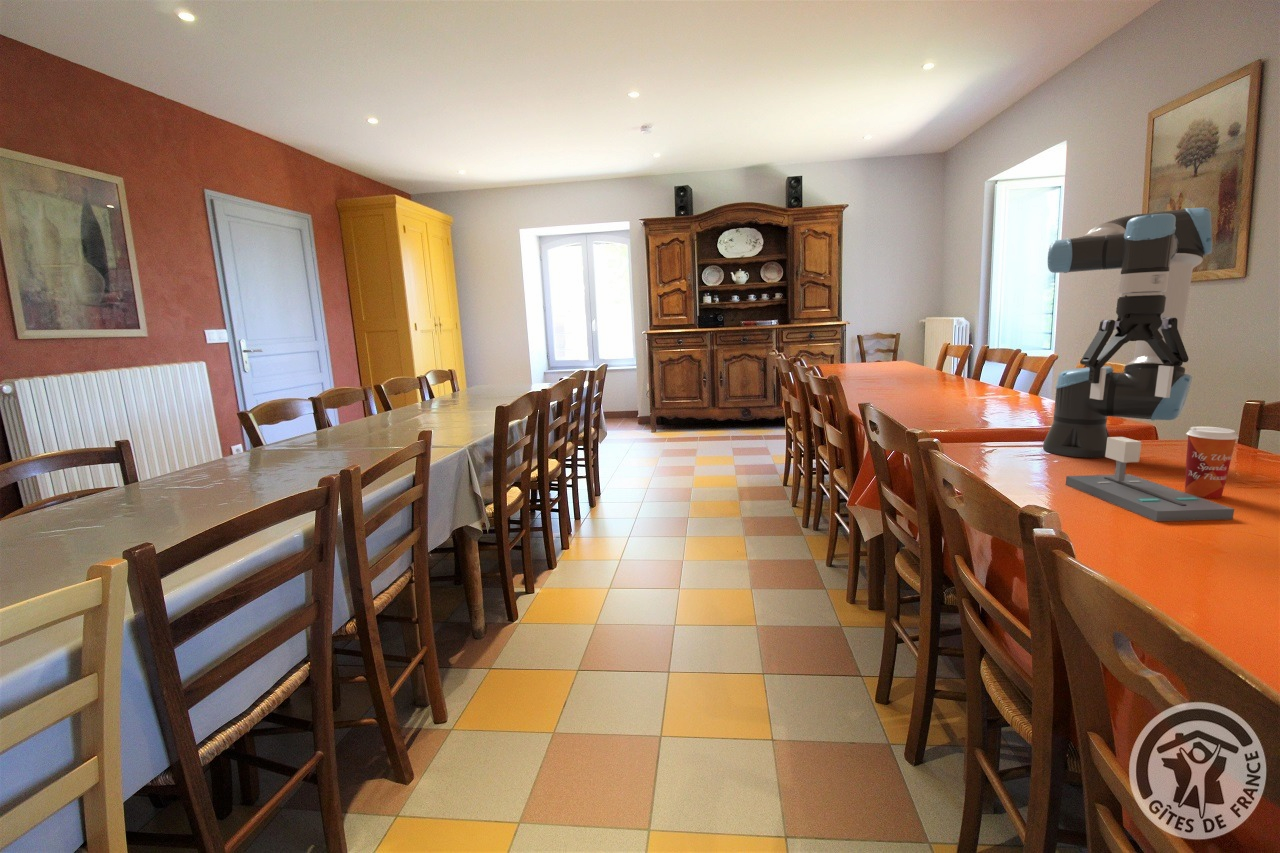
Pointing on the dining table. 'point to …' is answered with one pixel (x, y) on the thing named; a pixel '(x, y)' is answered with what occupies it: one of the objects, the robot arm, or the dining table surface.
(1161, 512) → the console board
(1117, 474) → the fader
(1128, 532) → the dining table surface
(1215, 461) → the paper cup
